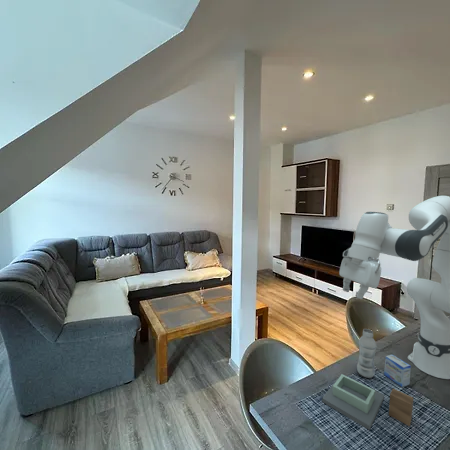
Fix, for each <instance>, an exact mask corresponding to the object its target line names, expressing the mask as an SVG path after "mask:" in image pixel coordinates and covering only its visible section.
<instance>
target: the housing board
mask: <svg viewBox="0 0 450 450" xmlns="http://www.w3.org/2000/svg"><path fill="white" fill-rule="evenodd" d="M384 399H385V394H383V393H381V392H379V391H377V390H375V389H374V388H372V387H369V386H367V385H365V384H364V383H361V382H359V381H358V380H355V379H353V378H351V377H348V376H347V375H345V374H343V373H340V374H339V375H338V377H337V378H336V380H335V381H334V382H333V383H332V385H331V386H330V387H329V389H327V391H326V393H325V394H324V395H323V396H322V399H321V401H322V403H323V404H325V405H327V406H328V407H330V408H332V409H333V410H335V411H337V412H339V413H340V414H342V415H344V416H345V417H347V418H349V419H350V420H352V421H353V422H355V423H356V424H359V425H360V426H362V427H363V428H365V429H367V430H369V431H370V430H371V427H372V426H373V423H374V421H375V419H376V417H377V415H378V413H379V410H380V409H381V406H382V404H383V402H384Z"/></svg>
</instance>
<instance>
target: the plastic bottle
mask: <svg viewBox="0 0 450 450" xmlns="http://www.w3.org/2000/svg"><path fill="white" fill-rule="evenodd" d="M358 345H359V346H358V347H359V349H358V350H359V357H358V362H357V366H356V370H357V372H358V373H359V375H360V376H362V377H363V378H366V379H372V378H373V377H374V376H375V372H376V369H375V353H376V350H377V347H378V346H377V342H376V341H375V339H374V332H373V330H371V329H369V328H368V329H367V328H363V330H362V335H361V336H360V338H359V340H358Z"/></svg>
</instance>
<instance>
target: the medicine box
mask: <svg viewBox="0 0 450 450" xmlns="http://www.w3.org/2000/svg"><path fill="white" fill-rule="evenodd" d="M411 369H412V366H411V365H410V364H409V363H407V362H406V361H404V360H402V359H400V358H399V357H397V356H396V355H394V354H389V355H386V356H385V361H384V372H383V375H384V376H385V377H386V378H388V379H389V380H391V381H393V383H395V384H397V385H398V386H400V387H401V388H404V387H406V386H407V387H408V386H409V385H410V383H411V382H410V380H411Z"/></svg>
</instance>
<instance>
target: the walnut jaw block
mask: <svg viewBox="0 0 450 450" xmlns="http://www.w3.org/2000/svg"><path fill="white" fill-rule="evenodd" d="M388 404H389V405H388V416H389V417H390V418H391V417H392V418H394V420H396V421H399V422H401V423H402V424H405V425H406V426H408V427H410V426H411V423H412V420H413V419H412V418H413V408H414V397H413V396H411V395H409V394H406V393H405V392H403V391H400V390H398V389H396V388H392V389H391V390H390V393H389V402H388Z"/></svg>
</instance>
